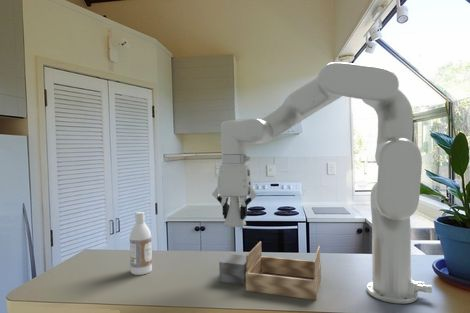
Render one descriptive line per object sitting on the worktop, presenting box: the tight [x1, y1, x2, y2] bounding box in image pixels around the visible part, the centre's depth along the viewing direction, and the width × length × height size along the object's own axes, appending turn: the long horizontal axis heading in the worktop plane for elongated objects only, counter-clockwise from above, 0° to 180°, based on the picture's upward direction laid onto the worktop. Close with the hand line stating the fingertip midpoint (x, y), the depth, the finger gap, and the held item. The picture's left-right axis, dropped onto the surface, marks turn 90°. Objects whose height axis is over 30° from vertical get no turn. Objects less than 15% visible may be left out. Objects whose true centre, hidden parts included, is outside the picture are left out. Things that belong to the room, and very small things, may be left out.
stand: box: [218, 253, 246, 286], centre depth 102 cm, size 8×8×6 cm
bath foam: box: [129, 211, 153, 276], centre depth 109 cm, size 7×7×20 cm
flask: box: [223, 197, 247, 228], centre depth 101 cm, size 7×7×10 cm
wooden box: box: [245, 240, 322, 301], centre depth 96 cm, size 20×16×10 cm
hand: (234, 217), depth 101 cm, fingers closed on flask, 4 cm apart
